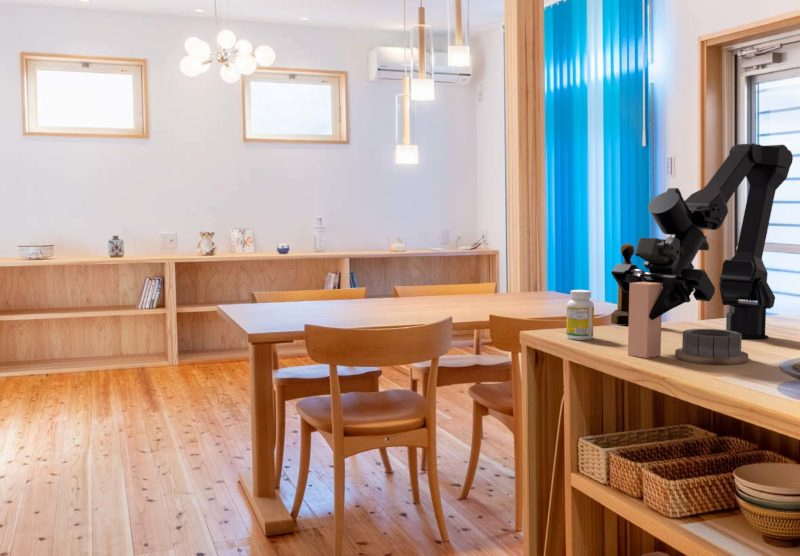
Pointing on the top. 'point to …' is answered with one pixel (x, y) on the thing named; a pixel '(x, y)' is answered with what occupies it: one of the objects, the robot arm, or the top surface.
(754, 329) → the robot arm
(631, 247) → the dark wooden chess piece
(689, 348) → the socket
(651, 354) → the terracotta peg
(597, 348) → the top surface
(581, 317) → the supplement bottle
